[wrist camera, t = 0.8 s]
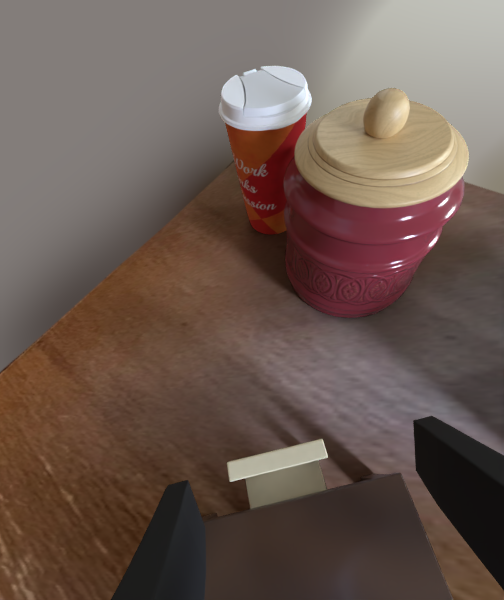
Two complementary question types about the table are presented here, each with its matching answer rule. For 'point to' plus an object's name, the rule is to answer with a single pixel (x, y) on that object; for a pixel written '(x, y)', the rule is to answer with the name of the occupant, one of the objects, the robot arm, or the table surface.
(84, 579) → the table surface
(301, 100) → the coffee cup
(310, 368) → the table surface
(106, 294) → the table surface
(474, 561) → the table surface
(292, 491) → the chair
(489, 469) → the robot arm
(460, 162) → the kitchen canister
